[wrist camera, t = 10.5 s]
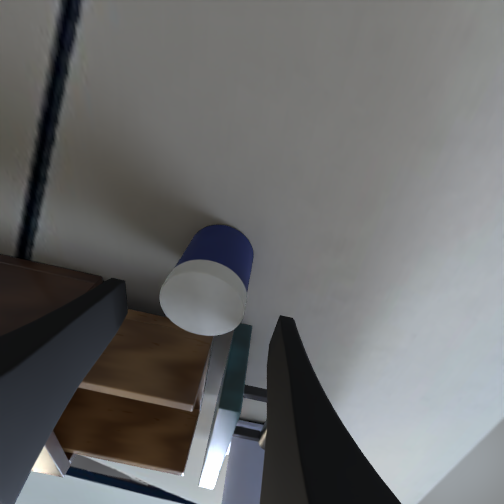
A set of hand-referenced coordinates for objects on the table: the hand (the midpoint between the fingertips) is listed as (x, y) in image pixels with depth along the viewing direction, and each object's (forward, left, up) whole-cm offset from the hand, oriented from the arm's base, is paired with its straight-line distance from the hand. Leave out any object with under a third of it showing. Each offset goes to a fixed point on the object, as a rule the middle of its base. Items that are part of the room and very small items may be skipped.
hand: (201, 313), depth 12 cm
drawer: (+2, +11, -4) cm, 12 cm away
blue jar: (0, 0, -5) cm, 5 cm away
